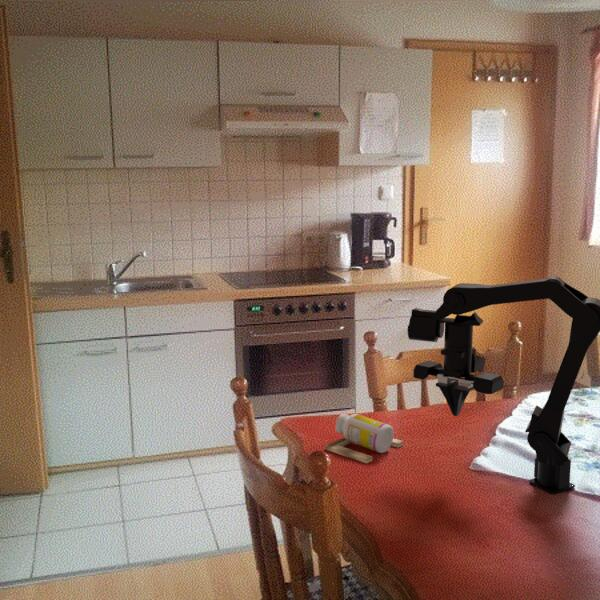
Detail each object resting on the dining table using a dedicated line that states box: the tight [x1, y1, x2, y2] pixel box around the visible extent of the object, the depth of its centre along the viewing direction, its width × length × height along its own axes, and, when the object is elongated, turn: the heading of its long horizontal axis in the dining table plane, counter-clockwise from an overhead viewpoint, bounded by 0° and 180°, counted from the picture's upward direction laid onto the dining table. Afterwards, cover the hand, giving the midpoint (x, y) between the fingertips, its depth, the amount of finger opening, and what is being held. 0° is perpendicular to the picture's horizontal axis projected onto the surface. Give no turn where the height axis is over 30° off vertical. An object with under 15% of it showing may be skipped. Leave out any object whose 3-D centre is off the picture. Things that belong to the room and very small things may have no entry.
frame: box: [324, 437, 404, 464], centre depth 167 cm, size 12×14×1 cm
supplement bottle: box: [334, 413, 395, 454], centre depth 166 cm, size 7×7×13 cm
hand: (456, 415), depth 152 cm, fingers closed
